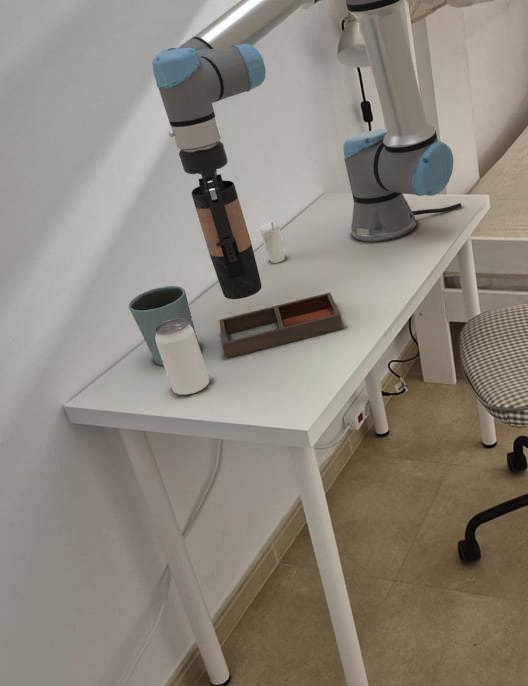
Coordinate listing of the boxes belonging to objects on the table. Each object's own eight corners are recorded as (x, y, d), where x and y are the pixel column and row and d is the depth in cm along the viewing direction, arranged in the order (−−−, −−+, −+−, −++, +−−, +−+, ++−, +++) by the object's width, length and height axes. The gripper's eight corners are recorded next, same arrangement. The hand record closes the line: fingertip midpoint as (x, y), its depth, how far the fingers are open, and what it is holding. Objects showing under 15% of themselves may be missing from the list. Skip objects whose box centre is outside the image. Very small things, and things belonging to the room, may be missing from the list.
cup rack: (223, 333, 170) (219, 319, 168) (333, 305, 174) (330, 292, 172) (226, 358, 160) (222, 344, 158) (343, 328, 164) (340, 314, 163)
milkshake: (273, 267, 196) (262, 225, 191) (265, 260, 200) (254, 219, 196) (292, 260, 198) (281, 219, 193) (283, 254, 202) (273, 213, 197)
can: (206, 393, 150) (186, 331, 144) (169, 398, 150) (147, 337, 144) (213, 374, 155) (194, 314, 149) (177, 379, 155) (157, 320, 149)
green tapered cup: (213, 350, 164) (194, 292, 158) (164, 374, 158) (144, 315, 152) (186, 336, 170) (168, 281, 164) (139, 359, 165) (118, 302, 159)
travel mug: (253, 299, 157) (222, 194, 147) (215, 300, 159) (182, 196, 149) (269, 281, 164) (241, 178, 154) (232, 282, 165) (202, 181, 155)
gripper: (176, 136, 156) (212, 253, 167) (178, 165, 138) (218, 294, 150) (218, 127, 157) (251, 244, 168) (225, 155, 140) (262, 283, 151)
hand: (236, 267), depth 159 cm, fingers closed on travel mug, 8 cm apart
